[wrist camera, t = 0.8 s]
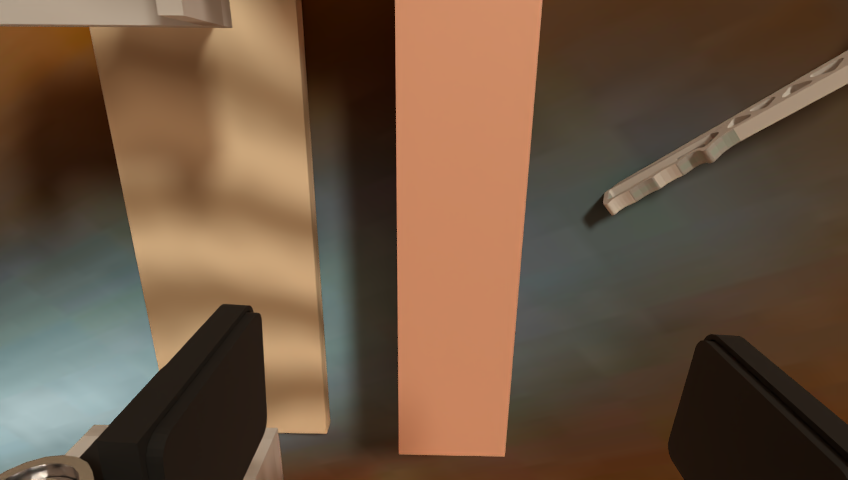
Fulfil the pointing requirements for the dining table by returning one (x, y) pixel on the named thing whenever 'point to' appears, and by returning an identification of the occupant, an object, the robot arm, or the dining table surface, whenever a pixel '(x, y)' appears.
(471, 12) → the rail
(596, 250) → the dining table surface
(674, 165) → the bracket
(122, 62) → the cradle stand
